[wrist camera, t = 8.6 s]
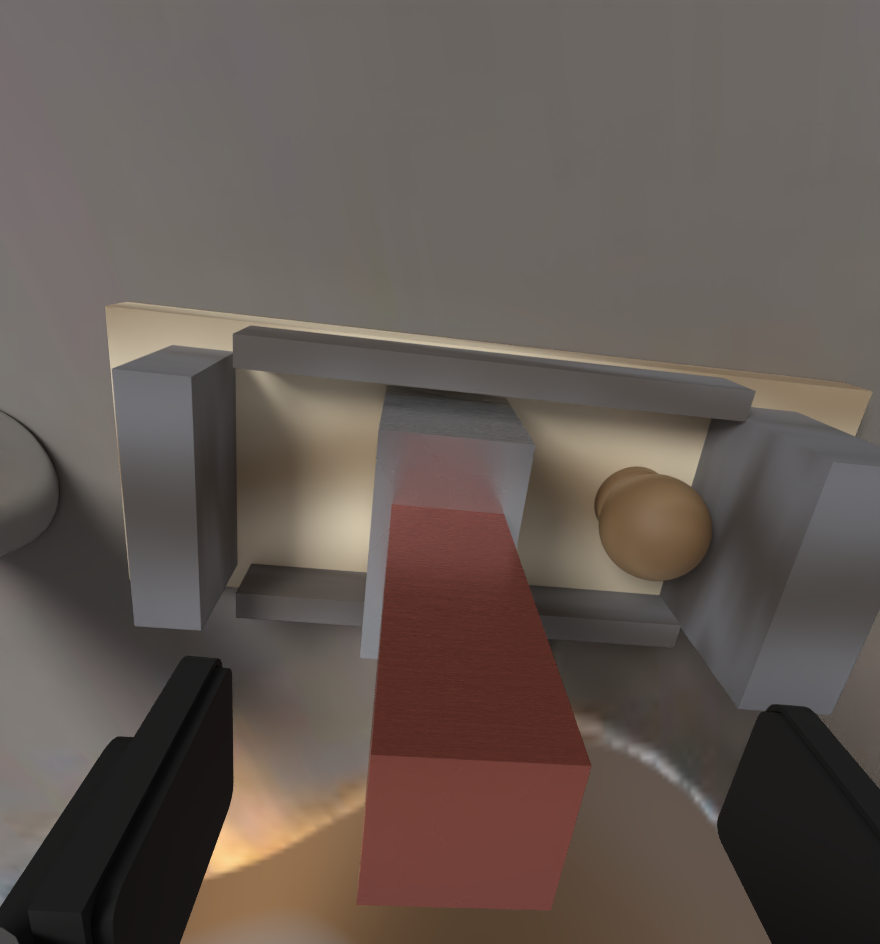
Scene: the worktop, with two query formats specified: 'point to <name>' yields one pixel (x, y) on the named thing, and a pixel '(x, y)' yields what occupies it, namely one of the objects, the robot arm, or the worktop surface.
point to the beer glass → (24, 486)
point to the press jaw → (460, 670)
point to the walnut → (652, 524)
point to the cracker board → (547, 500)
